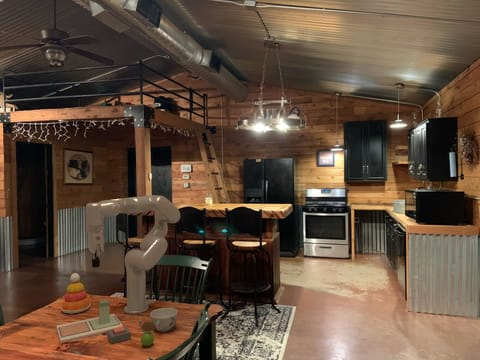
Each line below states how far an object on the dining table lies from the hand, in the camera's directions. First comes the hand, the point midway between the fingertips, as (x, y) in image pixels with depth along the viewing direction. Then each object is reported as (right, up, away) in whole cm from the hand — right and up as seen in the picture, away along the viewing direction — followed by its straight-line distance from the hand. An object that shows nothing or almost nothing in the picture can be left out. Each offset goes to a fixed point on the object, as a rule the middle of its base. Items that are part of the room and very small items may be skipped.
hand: (95, 266), depth 169 cm
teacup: (+34, -28, -7) cm, 44 cm away
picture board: (-1, -27, -5) cm, 28 cm away
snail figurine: (+30, -28, -22) cm, 46 cm away
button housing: (+16, -27, -15) cm, 35 cm away
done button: (+16, -27, -15) cm, 34 cm away
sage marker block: (+4, -26, -1) cm, 27 cm away
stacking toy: (-18, -28, +18) cm, 37 cm away
